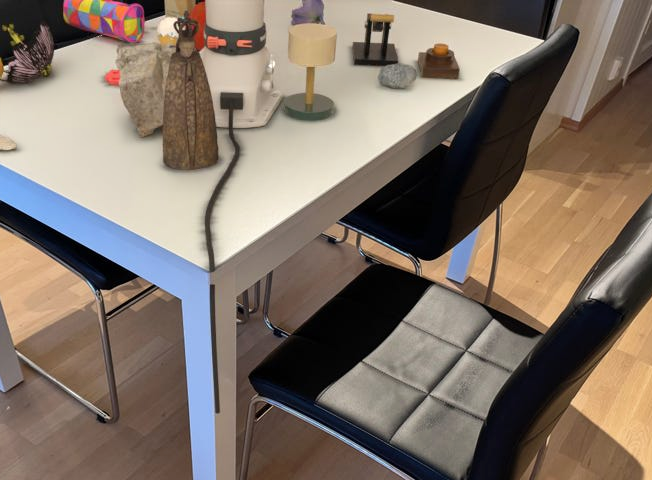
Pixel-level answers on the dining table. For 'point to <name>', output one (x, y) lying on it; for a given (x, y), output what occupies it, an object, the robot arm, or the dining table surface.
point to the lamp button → (440, 49)
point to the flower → (308, 13)
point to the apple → (199, 24)
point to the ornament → (168, 31)
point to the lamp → (310, 68)
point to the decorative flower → (30, 55)
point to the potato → (1, 69)
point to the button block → (438, 65)
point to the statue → (188, 106)
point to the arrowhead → (6, 143)
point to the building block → (113, 77)
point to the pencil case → (106, 18)
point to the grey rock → (397, 75)
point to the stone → (144, 82)
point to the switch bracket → (375, 48)
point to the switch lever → (380, 21)
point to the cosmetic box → (178, 7)
